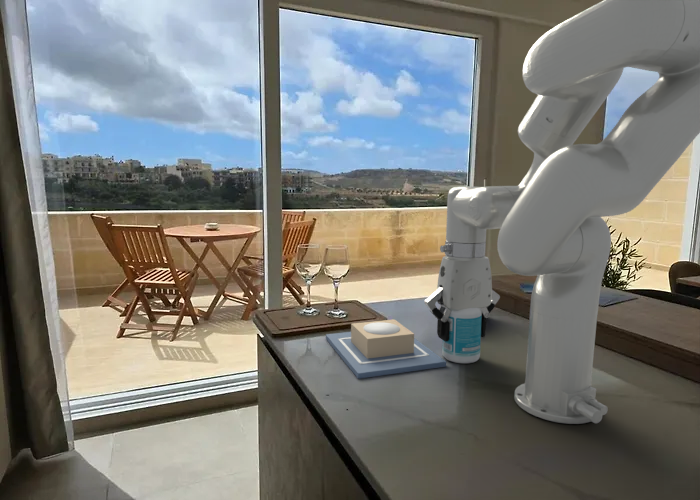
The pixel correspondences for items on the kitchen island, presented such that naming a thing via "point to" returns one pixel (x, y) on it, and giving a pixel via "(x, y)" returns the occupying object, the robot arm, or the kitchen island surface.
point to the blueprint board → (384, 365)
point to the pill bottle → (463, 336)
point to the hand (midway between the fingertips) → (461, 336)
